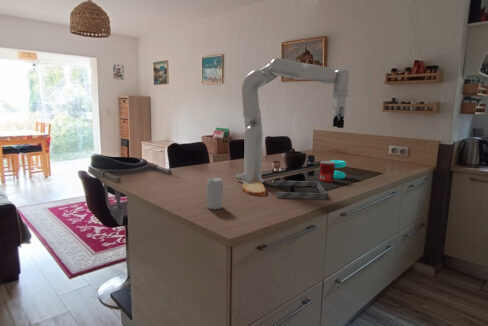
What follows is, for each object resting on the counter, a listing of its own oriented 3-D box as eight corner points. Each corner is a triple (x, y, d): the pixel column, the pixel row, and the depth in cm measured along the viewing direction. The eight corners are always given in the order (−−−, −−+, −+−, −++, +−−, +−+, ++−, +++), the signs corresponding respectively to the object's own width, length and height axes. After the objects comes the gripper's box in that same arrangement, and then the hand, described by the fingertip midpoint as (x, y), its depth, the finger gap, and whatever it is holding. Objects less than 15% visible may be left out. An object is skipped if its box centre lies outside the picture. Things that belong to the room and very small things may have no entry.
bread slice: (262, 198, 151) (262, 190, 150) (230, 192, 160) (230, 184, 160) (279, 190, 166) (279, 182, 165) (249, 185, 175) (249, 178, 175)
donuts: (347, 160, 197) (345, 163, 188) (346, 176, 199) (344, 179, 190) (330, 159, 201) (328, 161, 191) (329, 175, 202) (327, 178, 193)
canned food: (334, 182, 182) (335, 163, 180) (319, 181, 184) (320, 162, 182) (333, 179, 189) (334, 161, 188) (319, 178, 191) (320, 160, 189)
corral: (276, 197, 151) (276, 192, 150) (274, 185, 175) (274, 180, 174) (327, 199, 149) (327, 194, 149) (318, 186, 173) (318, 181, 173)
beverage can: (207, 205, 137) (207, 177, 135) (222, 205, 138) (222, 177, 136) (206, 210, 131) (206, 181, 129) (222, 210, 132) (223, 181, 129)
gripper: (329, 94, 179) (327, 126, 182) (336, 93, 162) (334, 128, 165) (343, 94, 178) (341, 126, 181) (352, 93, 161) (349, 128, 164)
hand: (338, 127), depth 173 cm, fingers open, 9 cm apart
